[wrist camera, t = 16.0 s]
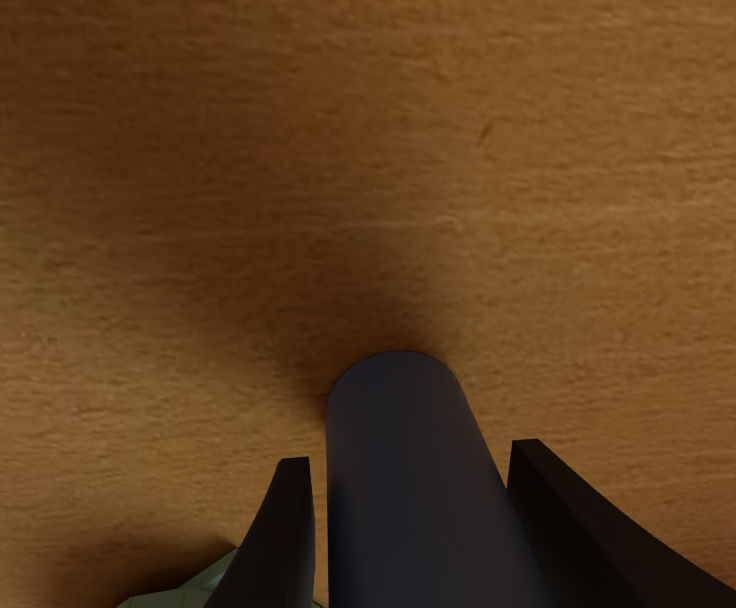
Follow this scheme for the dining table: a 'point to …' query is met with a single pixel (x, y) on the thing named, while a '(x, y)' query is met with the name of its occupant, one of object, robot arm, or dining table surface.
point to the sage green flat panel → (187, 590)
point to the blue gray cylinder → (419, 497)
